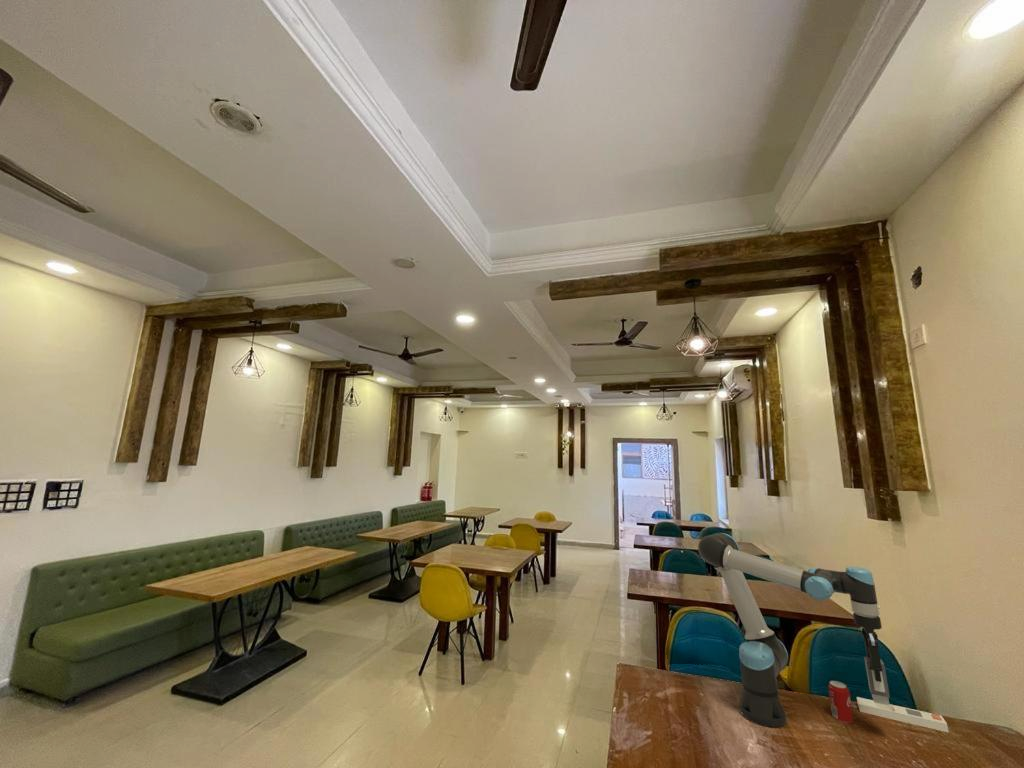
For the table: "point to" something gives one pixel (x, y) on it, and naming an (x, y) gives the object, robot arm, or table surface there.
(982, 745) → the table surface
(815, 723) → the table surface
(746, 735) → the table surface
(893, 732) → the table surface
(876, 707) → the power strip
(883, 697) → the charger
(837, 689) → the beverage can
